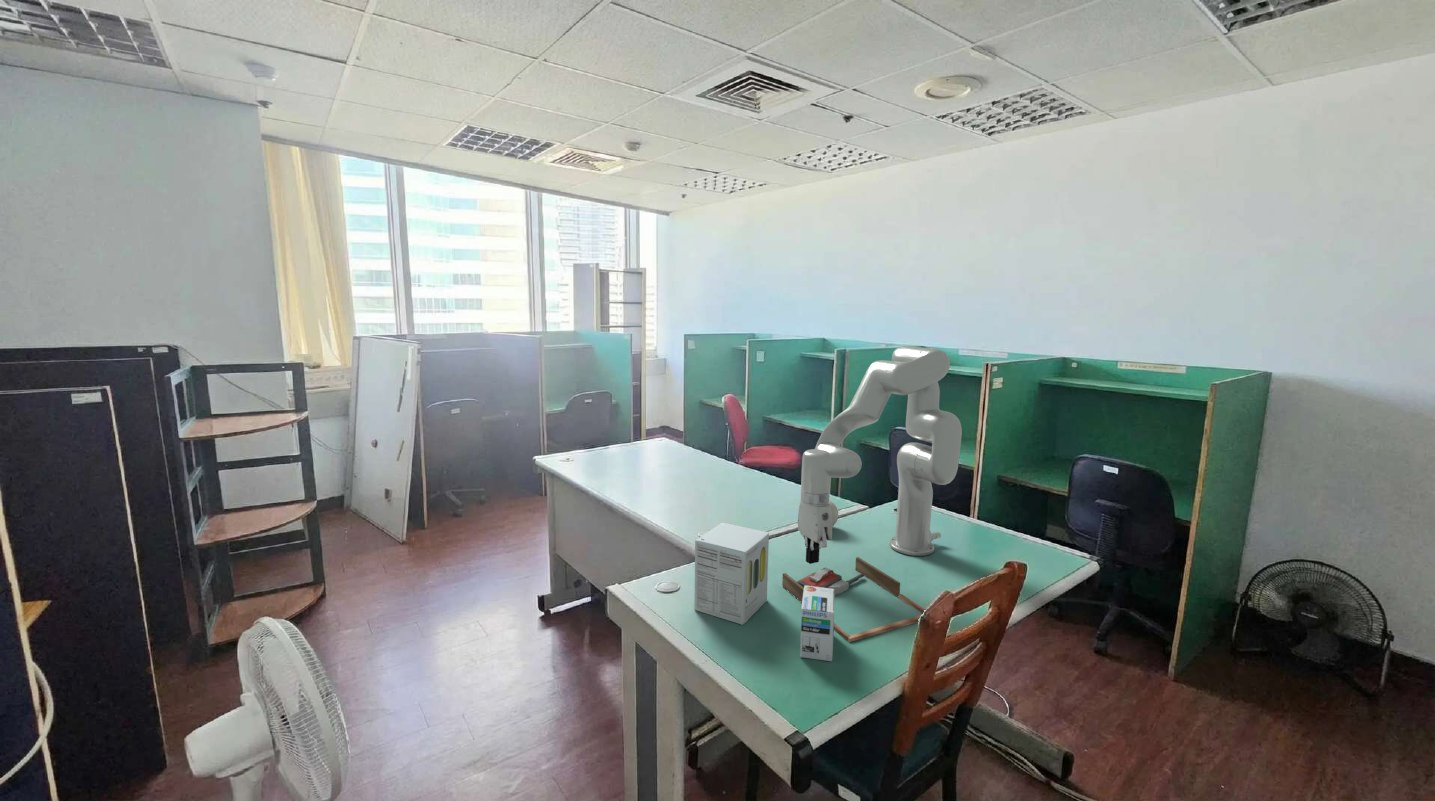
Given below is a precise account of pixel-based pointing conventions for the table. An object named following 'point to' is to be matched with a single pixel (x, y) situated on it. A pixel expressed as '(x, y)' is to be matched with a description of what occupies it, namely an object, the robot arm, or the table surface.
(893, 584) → the brown wooden frame
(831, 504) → the eye model
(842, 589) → the walkie-talkie
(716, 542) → the supplement box
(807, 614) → the light bulb box
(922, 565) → the table surface
